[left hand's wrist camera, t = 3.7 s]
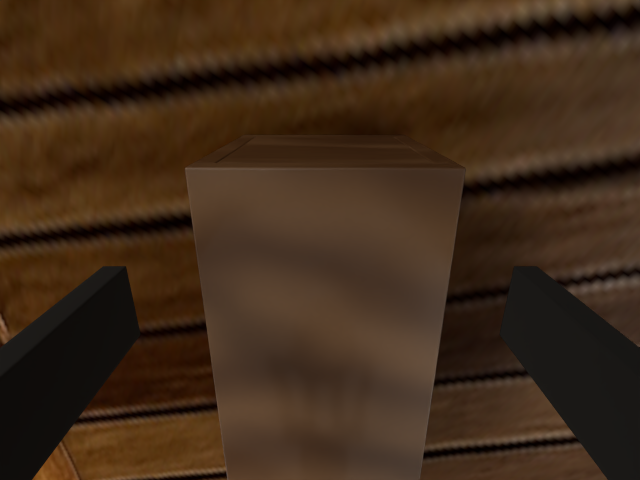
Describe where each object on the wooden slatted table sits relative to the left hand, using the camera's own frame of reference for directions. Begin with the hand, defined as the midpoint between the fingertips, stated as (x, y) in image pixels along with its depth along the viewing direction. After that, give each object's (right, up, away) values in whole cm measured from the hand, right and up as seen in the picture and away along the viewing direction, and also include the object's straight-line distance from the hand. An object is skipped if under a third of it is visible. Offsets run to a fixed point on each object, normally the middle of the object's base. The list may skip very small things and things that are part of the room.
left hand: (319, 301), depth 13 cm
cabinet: (0, -1, +14) cm, 14 cm away
